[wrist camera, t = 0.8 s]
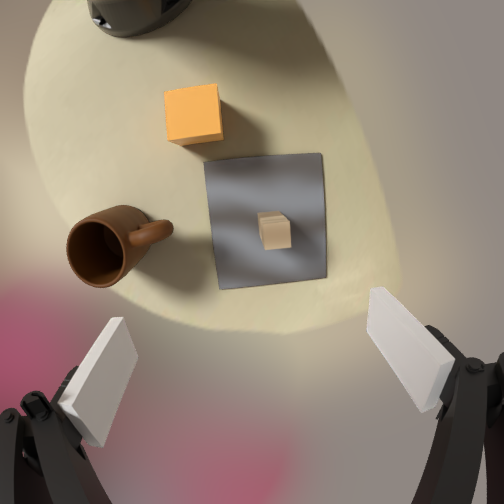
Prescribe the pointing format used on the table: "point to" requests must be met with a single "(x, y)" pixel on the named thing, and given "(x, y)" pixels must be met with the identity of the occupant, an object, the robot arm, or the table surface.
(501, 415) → the robot arm
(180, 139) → the orange foam cube
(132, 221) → the mug
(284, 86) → the table surface
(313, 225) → the grey rubber mat
